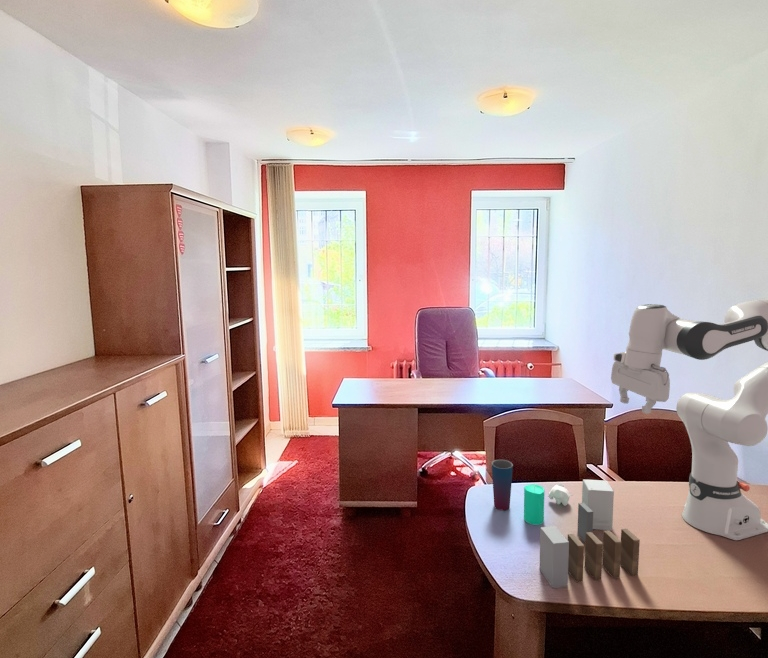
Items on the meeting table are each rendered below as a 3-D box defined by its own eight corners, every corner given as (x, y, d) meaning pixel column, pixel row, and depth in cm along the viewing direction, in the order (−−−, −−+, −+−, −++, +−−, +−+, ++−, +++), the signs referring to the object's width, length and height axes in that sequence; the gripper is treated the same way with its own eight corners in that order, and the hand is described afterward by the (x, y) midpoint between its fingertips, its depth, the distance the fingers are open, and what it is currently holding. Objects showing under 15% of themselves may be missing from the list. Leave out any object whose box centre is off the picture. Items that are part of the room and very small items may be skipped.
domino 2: (590, 566, 118) (591, 531, 117) (601, 579, 114) (602, 543, 112) (584, 567, 118) (585, 532, 117) (595, 580, 113) (596, 544, 112)
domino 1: (572, 568, 118) (573, 533, 117) (582, 581, 113) (584, 545, 112) (566, 569, 118) (567, 534, 116) (576, 582, 113) (578, 545, 111)
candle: (524, 523, 139) (525, 487, 137) (523, 513, 145) (523, 478, 143) (544, 525, 137) (545, 489, 136) (542, 515, 143) (543, 480, 142)
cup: (496, 499, 154) (497, 457, 152) (515, 505, 150) (516, 462, 148) (487, 507, 149) (488, 464, 147) (507, 514, 144) (507, 470, 142)
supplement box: (612, 531, 134) (614, 491, 132) (586, 529, 135) (587, 489, 134) (605, 517, 141) (607, 480, 139) (580, 515, 142) (582, 478, 141)
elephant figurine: (548, 495, 155) (549, 479, 154) (573, 500, 152) (574, 484, 151) (546, 505, 149) (546, 488, 148) (572, 510, 146) (572, 493, 145)
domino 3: (607, 564, 119) (609, 530, 118) (619, 577, 114) (621, 541, 113) (602, 565, 119) (603, 530, 117) (613, 578, 114) (615, 542, 113)
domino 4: (625, 563, 120) (626, 528, 118) (637, 575, 115) (639, 539, 113) (619, 563, 119) (621, 529, 118) (632, 576, 114) (633, 540, 113)
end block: (553, 567, 118) (555, 525, 117) (567, 586, 112) (568, 542, 110) (539, 569, 118) (540, 527, 116) (552, 588, 111) (553, 543, 109)
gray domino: (582, 533, 133) (583, 502, 132) (592, 544, 128) (593, 511, 127) (577, 534, 133) (578, 502, 131) (586, 544, 128) (588, 512, 126)
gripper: (680, 369, 117) (671, 420, 119) (629, 354, 137) (622, 398, 139) (658, 368, 116) (649, 419, 118) (610, 353, 136) (603, 397, 138)
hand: (634, 407), depth 128 cm, fingers open, 8 cm apart
